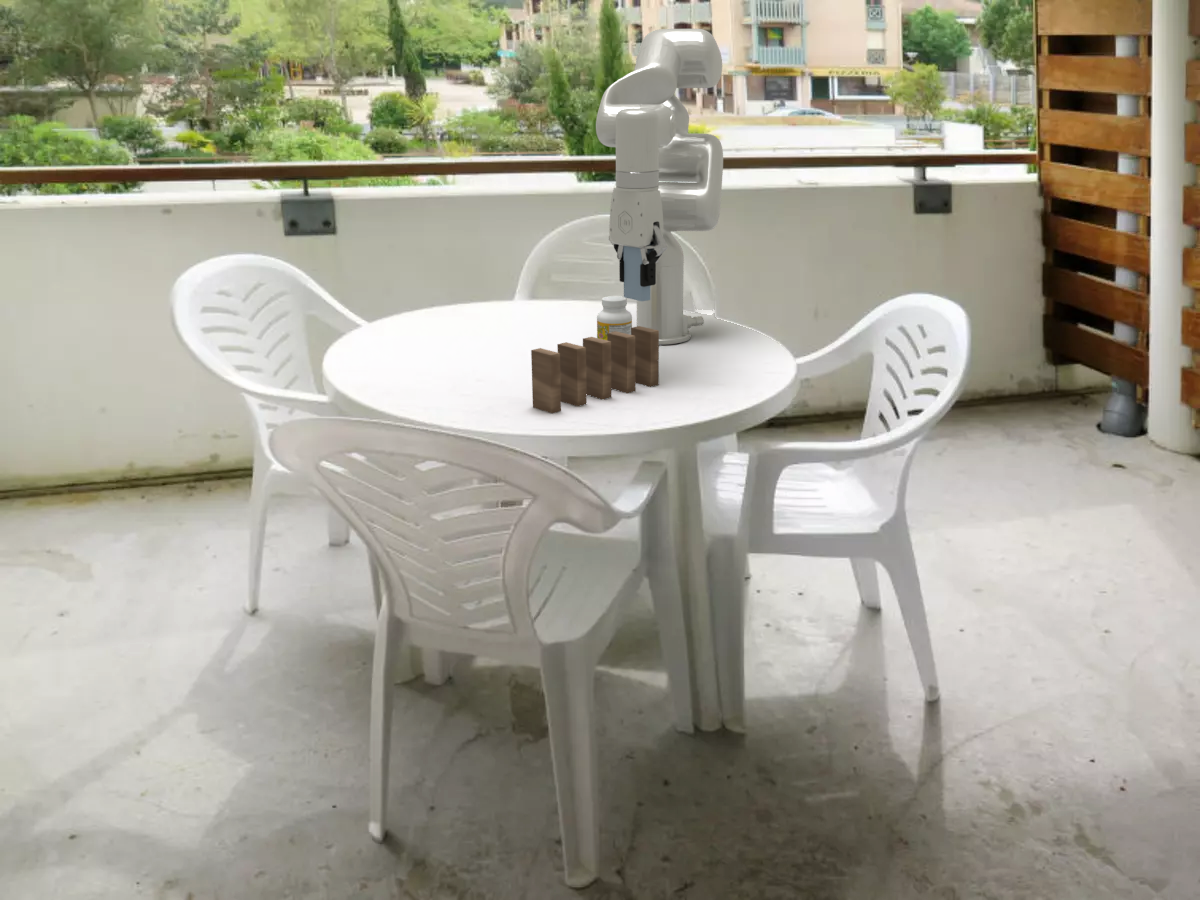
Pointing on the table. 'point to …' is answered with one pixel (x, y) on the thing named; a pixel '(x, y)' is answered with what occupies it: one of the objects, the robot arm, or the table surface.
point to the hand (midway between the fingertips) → (637, 282)
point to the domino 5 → (634, 275)
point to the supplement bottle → (613, 317)
